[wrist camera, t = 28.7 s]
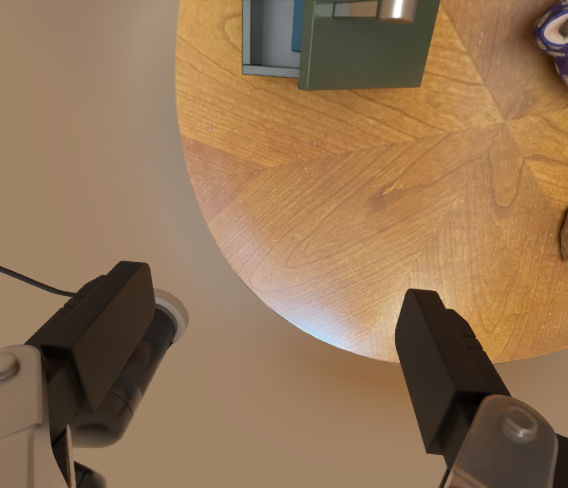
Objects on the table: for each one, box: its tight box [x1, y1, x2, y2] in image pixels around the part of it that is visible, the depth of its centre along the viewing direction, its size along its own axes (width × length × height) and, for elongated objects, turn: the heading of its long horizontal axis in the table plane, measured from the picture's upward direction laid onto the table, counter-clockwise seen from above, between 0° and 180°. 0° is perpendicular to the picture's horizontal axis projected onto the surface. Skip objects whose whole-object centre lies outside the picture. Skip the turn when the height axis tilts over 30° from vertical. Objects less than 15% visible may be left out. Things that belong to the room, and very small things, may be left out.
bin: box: [242, 0, 301, 78], centre depth 31 cm, size 16×12×9 cm
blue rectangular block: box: [291, 0, 304, 52], centre depth 33 cm, size 7×4×3 cm, turn 176°
